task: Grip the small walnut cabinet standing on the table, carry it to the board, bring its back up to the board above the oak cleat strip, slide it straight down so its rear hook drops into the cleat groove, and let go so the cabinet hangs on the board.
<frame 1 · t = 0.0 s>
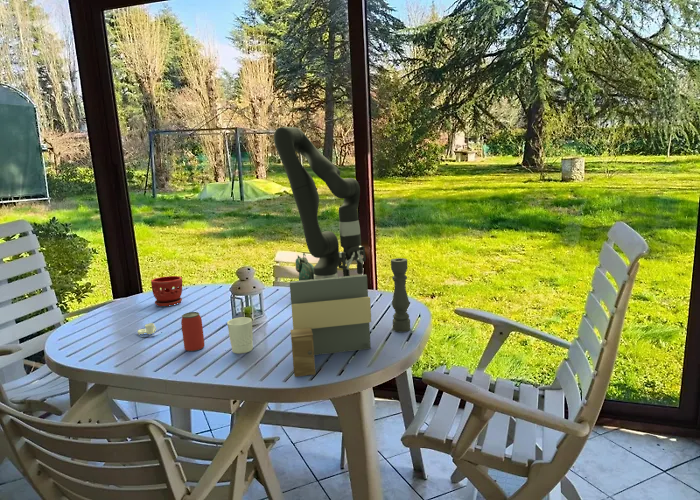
hand: (353, 276, 181), 17 cm above the table, tool pointing down, fingers open, 8 cm apart
cabinet: (304, 371, 142), on the table
candle holder: (401, 329, 172), on the table
wall board: (333, 351, 155), on the table
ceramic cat: (309, 297, 220), on the table
white cup: (242, 350, 161), on the table
beer can: (194, 348, 165), on the table
plant pot: (169, 304, 221), on the table
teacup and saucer: (152, 332, 185), on the table
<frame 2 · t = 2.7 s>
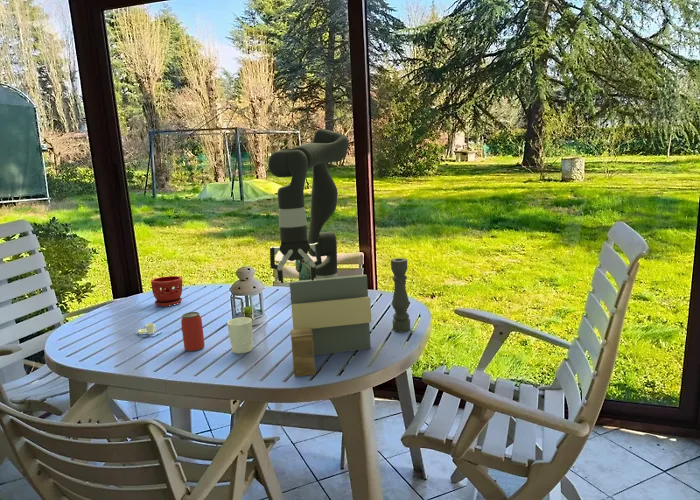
hand: (297, 281, 137), 27 cm above the table, tool pointing down, fingers open, 8 cm apart
nothing on the table moved.
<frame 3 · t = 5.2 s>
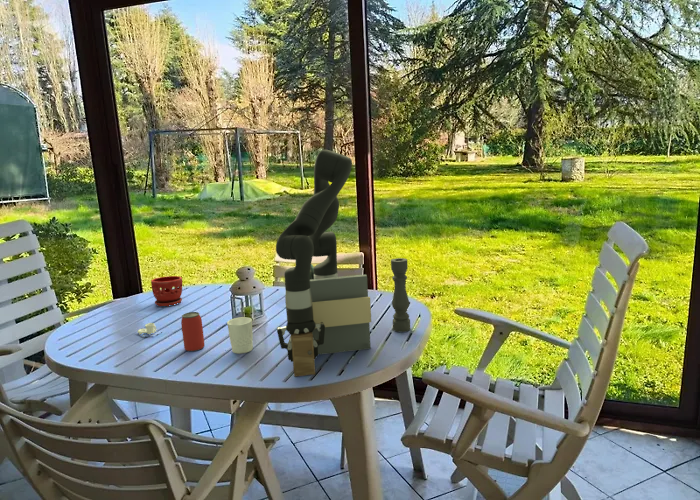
hand: (303, 359, 142), 4 cm above the table, tool pointing down, fingers closed on cabinet, 6 cm apart
cabinet: (304, 371, 142), on the table, touching gripper
everything else where it was.
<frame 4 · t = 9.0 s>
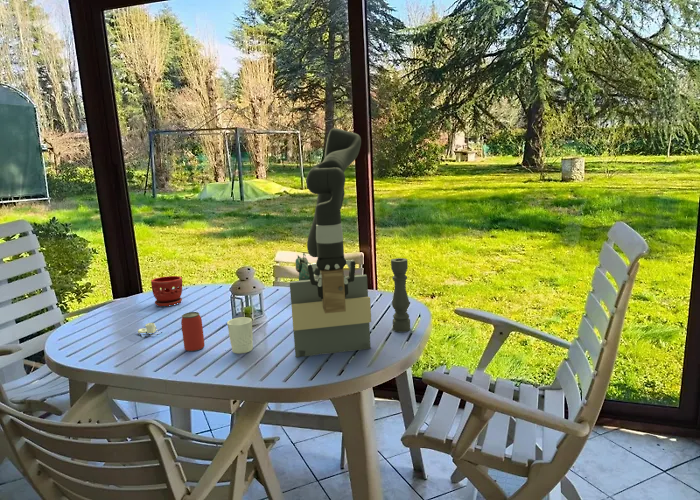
hand: (333, 297, 140), 21 cm above the table, tool pointing down, fingers closed on cabinet, 6 cm apart
cabinet: (334, 309, 141), point 18 cm above the table, touching gripper
everything else where it was.
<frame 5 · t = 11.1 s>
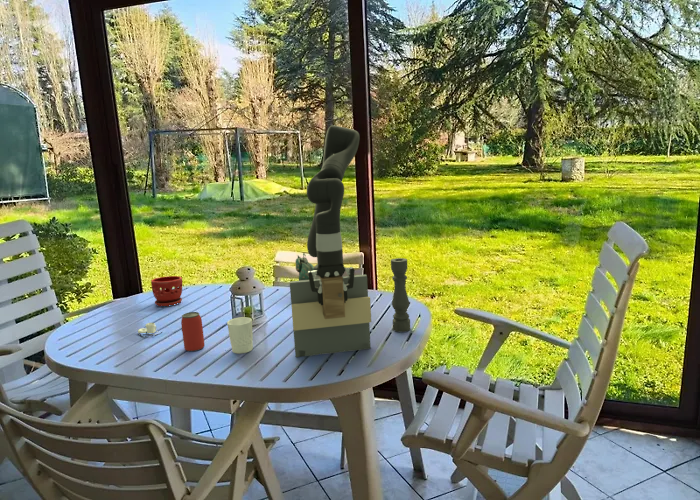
hand: (333, 303, 144), 18 cm above the table, tool pointing down, fingers closed on cabinet, 6 cm apart
cabinet: (333, 315, 145), point 15 cm above the table, touching gripper
everything else where it was.
when the fingers open (13 cm above the table, at t = 12.8 s): cabinet stays where it is, resting on wall board.
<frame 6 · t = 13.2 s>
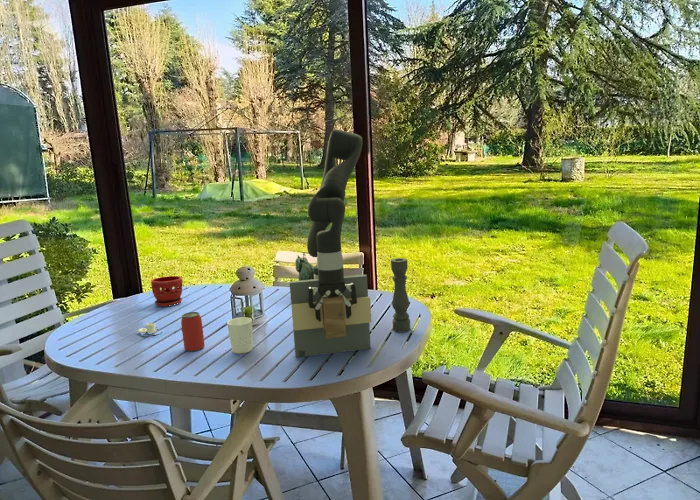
hand: (333, 319, 145), 13 cm above the table, tool pointing down, fingers open, 8 cm apart
cabinet: (334, 333, 147), point 9 cm above the table, touching wall board
everything else where it was.
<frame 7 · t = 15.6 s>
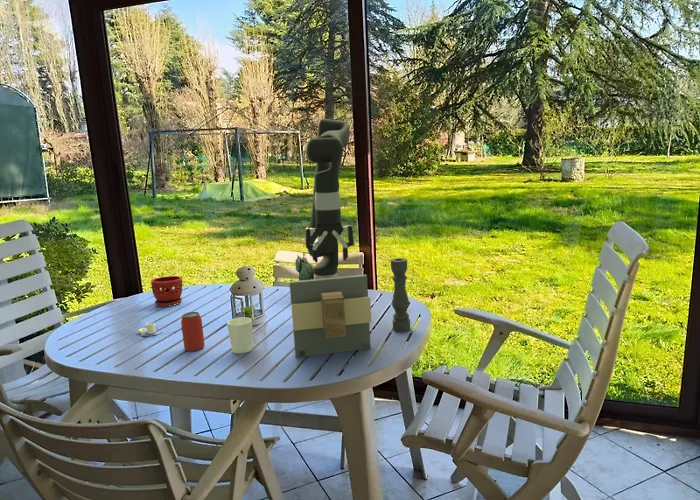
hand: (330, 260, 147), 30 cm above the table, tool pointing down, fingers open, 8 cm apart
nothing on the table moved.
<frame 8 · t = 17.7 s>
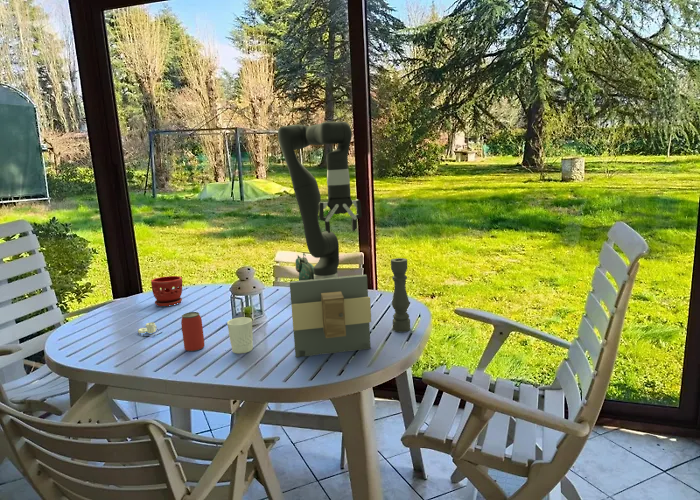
hand: (341, 231, 165), 36 cm above the table, tool pointing down, fingers open, 8 cm apart
at the end: cabinet 0.6 cm from the target spot on the wall board, point 8.9 cm above the wall board's base; the gripper is holding nothing; cabinet tilted 3° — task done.
